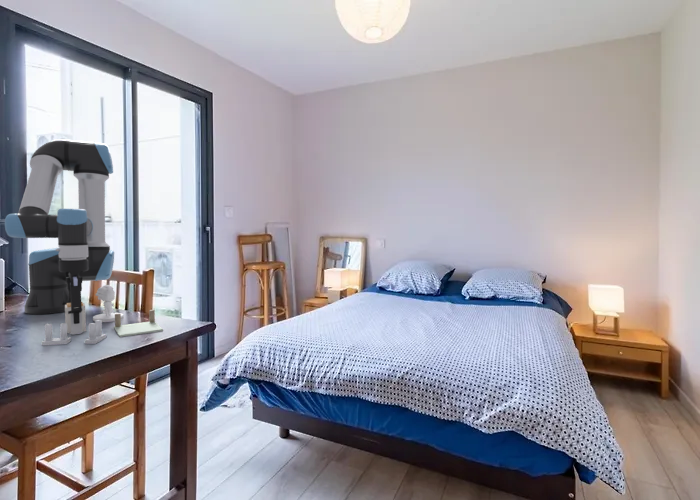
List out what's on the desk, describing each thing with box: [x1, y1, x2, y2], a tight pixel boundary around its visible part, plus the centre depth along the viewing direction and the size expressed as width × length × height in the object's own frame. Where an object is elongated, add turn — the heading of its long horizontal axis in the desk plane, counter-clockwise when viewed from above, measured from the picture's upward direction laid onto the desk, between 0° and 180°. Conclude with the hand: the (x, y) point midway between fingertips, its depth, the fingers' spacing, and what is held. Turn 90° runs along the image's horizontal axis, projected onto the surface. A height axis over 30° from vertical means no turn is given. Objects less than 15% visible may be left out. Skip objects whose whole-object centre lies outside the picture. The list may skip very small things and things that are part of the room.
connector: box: [64, 301, 87, 334], centre depth 123 cm, size 5×5×9 cm
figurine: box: [92, 284, 125, 323], centre depth 137 cm, size 9×9×12 cm
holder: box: [113, 309, 164, 338], centre depth 125 cm, size 12×12×5 cm
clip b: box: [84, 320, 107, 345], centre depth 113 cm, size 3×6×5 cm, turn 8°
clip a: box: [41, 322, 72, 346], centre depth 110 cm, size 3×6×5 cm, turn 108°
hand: (75, 329), depth 123 cm, fingers open, 10 cm apart
